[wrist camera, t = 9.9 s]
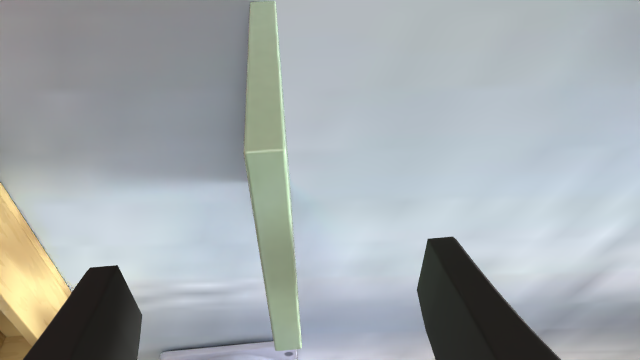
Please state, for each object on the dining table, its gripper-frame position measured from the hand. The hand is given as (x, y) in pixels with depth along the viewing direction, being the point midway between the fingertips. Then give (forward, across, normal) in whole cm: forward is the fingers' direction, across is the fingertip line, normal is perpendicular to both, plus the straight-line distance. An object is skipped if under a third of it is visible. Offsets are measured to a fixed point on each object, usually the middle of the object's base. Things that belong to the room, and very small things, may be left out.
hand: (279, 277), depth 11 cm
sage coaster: (+8, 0, 0) cm, 8 cm away
